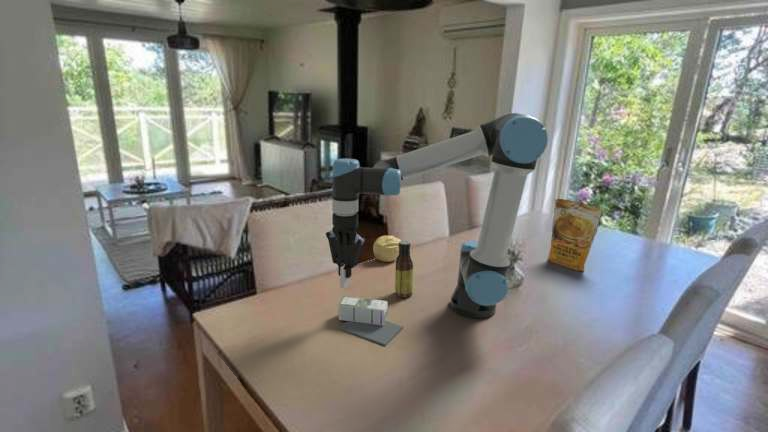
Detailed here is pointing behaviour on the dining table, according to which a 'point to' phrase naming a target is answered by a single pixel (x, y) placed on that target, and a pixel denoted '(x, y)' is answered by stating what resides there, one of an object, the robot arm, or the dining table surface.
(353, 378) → the dining table surface
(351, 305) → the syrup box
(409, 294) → the sauce bottle
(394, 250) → the yellow round lump
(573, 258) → the pancake mix bag
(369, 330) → the felt mat
